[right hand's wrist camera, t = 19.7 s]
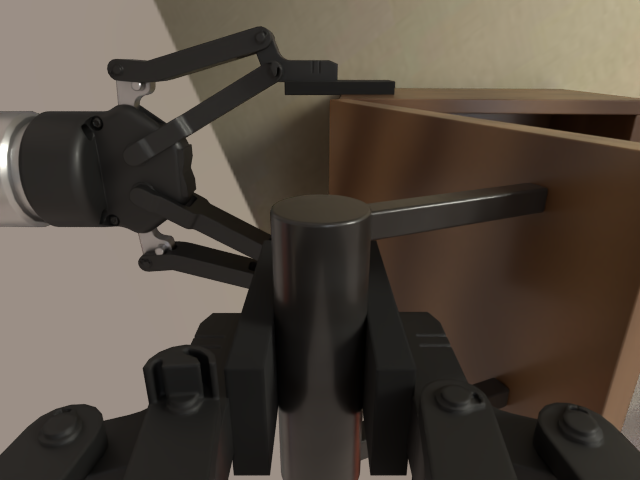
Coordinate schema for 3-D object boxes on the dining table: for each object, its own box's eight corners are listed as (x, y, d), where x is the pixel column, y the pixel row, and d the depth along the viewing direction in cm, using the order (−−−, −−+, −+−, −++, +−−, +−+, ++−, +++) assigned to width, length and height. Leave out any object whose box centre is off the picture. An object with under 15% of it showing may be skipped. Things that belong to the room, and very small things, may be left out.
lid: (711, 152, 9) (339, 197, 6) (601, 494, 13) (331, 635, 10) (348, 98, 23) (179, 103, 20) (344, 268, 27) (200, 295, 24)
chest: (562, 89, 33) (654, 100, 23) (538, 215, 36) (609, 273, 26) (342, 88, 34) (339, 98, 24) (340, 211, 37) (336, 265, 27)
